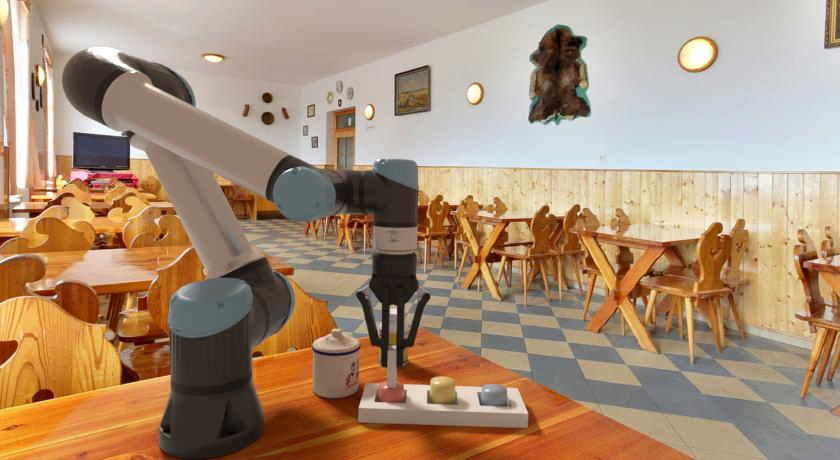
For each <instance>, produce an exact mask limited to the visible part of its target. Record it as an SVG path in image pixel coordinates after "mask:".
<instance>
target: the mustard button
mask: <svg viewBox="0 0 840 460" xmlns="http://www.w3.org/2000/svg"><path fill="white" fill-rule="evenodd" d="M429 382H430V383H429V385H430V403H431V404H444V405H454V403H455V386H457V384H456V383H457V382H456V380H455V379H454V378H451V377H449V376H434V377H433V378H431V379H430V381H429Z"/></svg>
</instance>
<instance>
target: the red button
mask: <svg viewBox="0 0 840 460" xmlns="http://www.w3.org/2000/svg"><path fill="white" fill-rule="evenodd" d="M403 384H404V383H403V382H401V381H398V380H397V382H396V388H387V380H384V381H381V382H380V384H379V394H378V402H385V403H403V400H404V385H403Z"/></svg>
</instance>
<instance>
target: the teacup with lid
mask: <svg viewBox="0 0 840 460" xmlns="http://www.w3.org/2000/svg"><path fill="white" fill-rule="evenodd" d="M360 349H361V343H360V341H359V339H357V338H356V337H354V336H353V337H352V336H351V335H347V334H345V333H343V330H342V329H341V328H332V329H331V332H330V333H329V334H327V335H325V336H322V337H319V338H317V339H315V340H314V342H313V343H312V345H311V350H312V390H313V392H314V394H316V395H317V396H319V397H322V398H326V399H340V398H341V399H342V398H346V397H349V396H352V395H353V394H355V393H356V392H357V391H358V389H359V388H360V387H359V384H360V383H359V382H360V381H359V380H360V375H359V374H360Z"/></svg>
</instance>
